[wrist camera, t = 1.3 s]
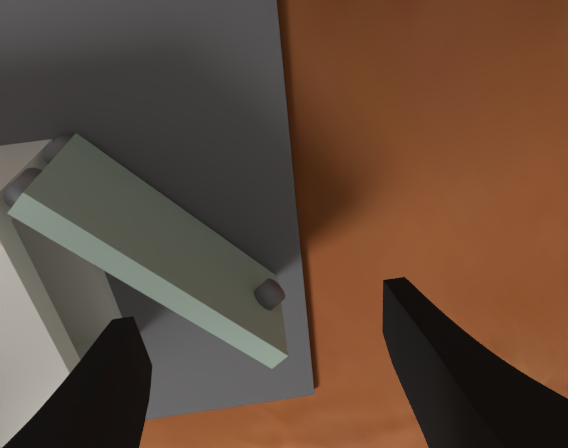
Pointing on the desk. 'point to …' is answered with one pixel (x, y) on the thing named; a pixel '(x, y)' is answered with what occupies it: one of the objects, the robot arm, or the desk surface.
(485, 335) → the desk surface
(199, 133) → the mat
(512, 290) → the desk surface
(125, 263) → the cabinet door
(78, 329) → the cabinet
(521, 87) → the desk surface
